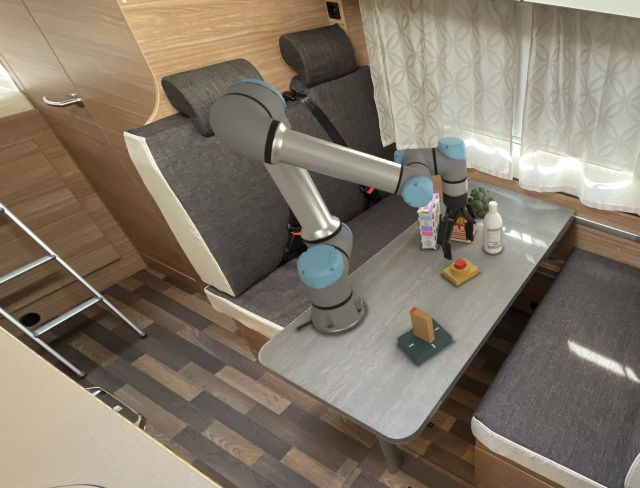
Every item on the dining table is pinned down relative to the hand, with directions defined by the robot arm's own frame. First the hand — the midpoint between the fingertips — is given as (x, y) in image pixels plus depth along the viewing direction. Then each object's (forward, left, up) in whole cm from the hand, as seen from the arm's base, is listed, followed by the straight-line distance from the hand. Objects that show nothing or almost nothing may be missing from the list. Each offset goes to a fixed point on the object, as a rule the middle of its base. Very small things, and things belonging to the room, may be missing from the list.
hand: (459, 248), depth 133 cm
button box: (0, 0, -11) cm, 11 cm away
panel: (-27, -17, -11) cm, 34 cm away
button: (0, 0, -8) cm, 8 cm away
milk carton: (+15, +18, -11) cm, 26 cm away
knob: (-27, -17, -8) cm, 33 cm away
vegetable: (+30, +25, -11) cm, 41 cm away
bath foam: (+18, +3, -11) cm, 22 cm away
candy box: (+5, +24, -11) cm, 27 cm away
